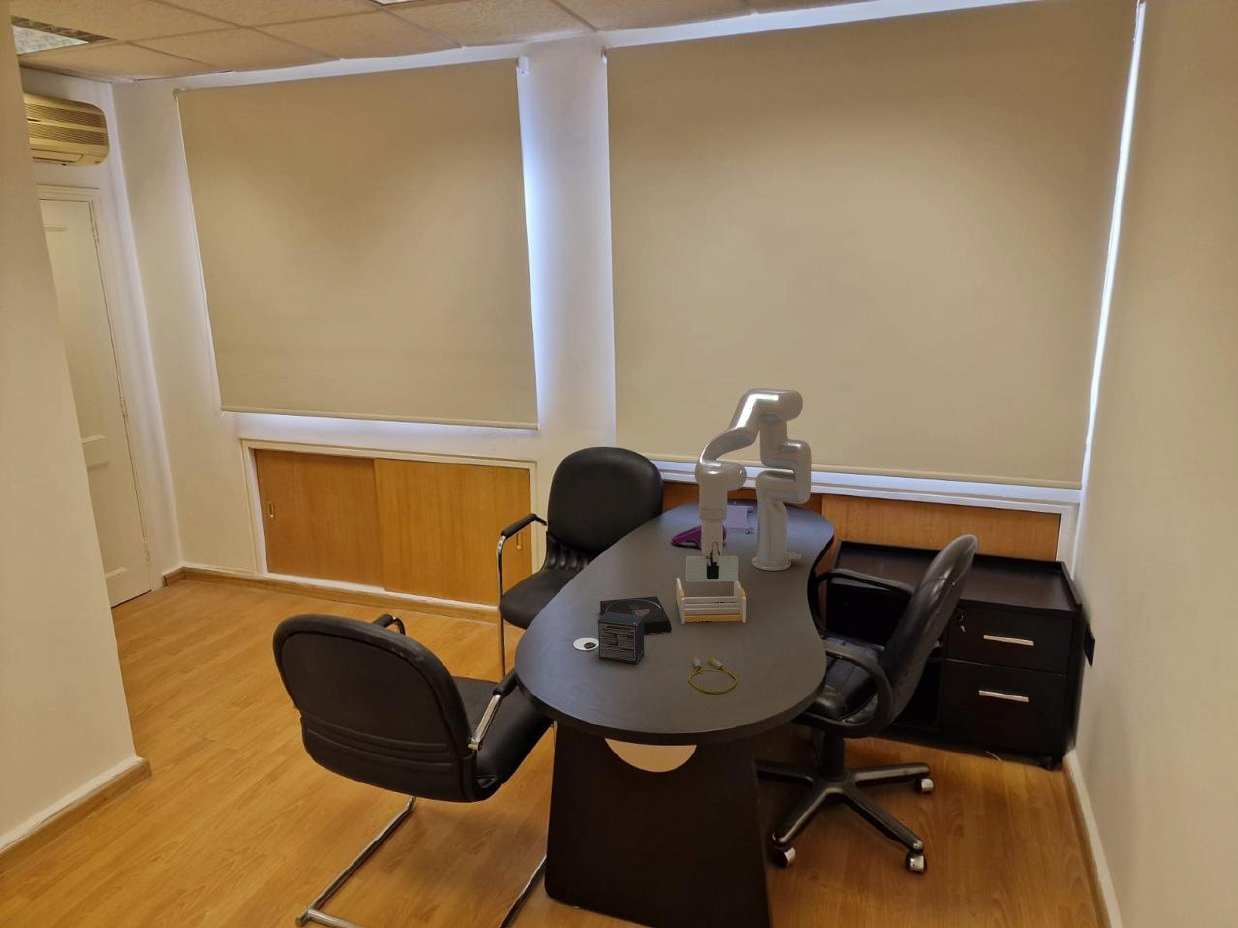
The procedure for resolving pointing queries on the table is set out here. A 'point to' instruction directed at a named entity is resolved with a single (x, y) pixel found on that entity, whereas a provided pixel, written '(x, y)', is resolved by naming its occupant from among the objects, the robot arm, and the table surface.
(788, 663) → the table surface
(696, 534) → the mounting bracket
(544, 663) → the table surface
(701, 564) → the panel
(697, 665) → the extension cord
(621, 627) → the small box
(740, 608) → the rack
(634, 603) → the portable cd player
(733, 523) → the computer part
